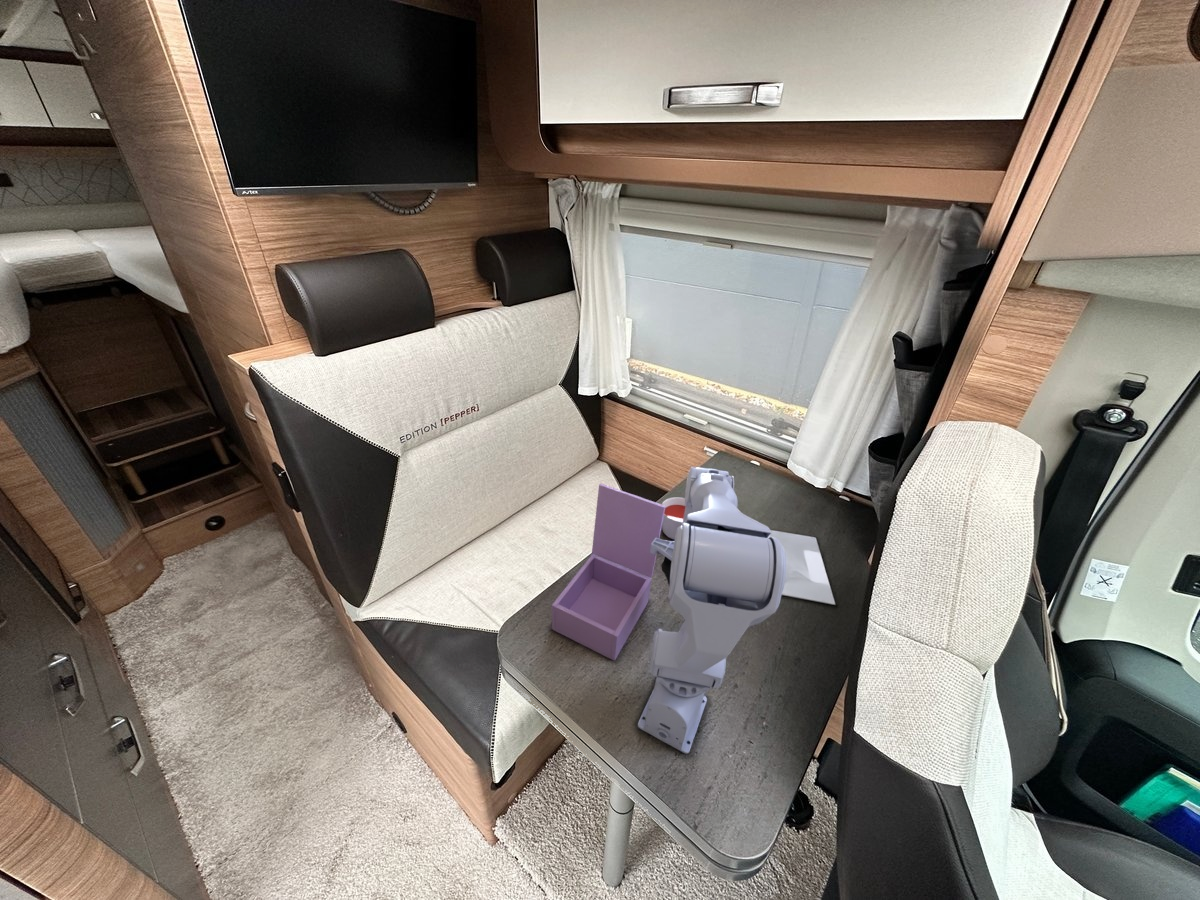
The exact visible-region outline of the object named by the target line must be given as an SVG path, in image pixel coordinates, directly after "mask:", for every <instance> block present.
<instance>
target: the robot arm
mask: <svg viewBox="0 0 1200 900" xmlns="http://www.w3.org/2000/svg"><path fill="white" fill-rule="evenodd" d="M684 498H685V504H686V507H685V513H684V518H683V523H682V525H681V526H679V527H678V528H677V531H676V535H675V540H666V539H661V538H660V539H658V538H655V539H654V540H653V542H652V543H651V548H650V553H652V554H660V555H662V556H664V559H663V561H662V563H661V571H662V572H663V574H664V575H665V578H666V581H667V584H668V594H667V598H668V599H669V606H670V607H671V608H672V609H673V610H674V611H676V613H678V614H679V615H680V616H682V617H683V618H684V622H683V623H682V625H681V626H680V628H679V630H678V631H668V630H663V628H657V630H655V631H654V633H653V639H652V644H651V645H652V646H651V653H650V661H649V672H650V673H651V676H652V677H655V683H654V687H653V689H652V691H651V694H650V696H649V698H648V700H647V703H646V705H645V707H644V708H643V711H642V713H641V716H640V718H639V720H638V722H637V728H638V729H640V730H642V731H643V732H645V733H647V734H649V735H651V736H652V737H654V738H656V739H658V740H660V741H661V742H663V743H664V744H667V745H669V746H670V747H672V748H674V749H676V750H678V751H680V752H681V753H683V754H686V755H687V754H689V753H690V750H691V748H692V745H693V742H694V739H695V736H696V733H697V731H698V727H699V725H700V722H701V719H702V716H703V713H704V710H705V707H706V705H707V701H708V697H706V695H705V694H706V693H707V694H709V692H710V690H711V689H712V690H717V689H718V688H719V687H720V686H721V685H722V683H723V680H724V677H725V675H726V665H727V658H728V657H729V655H730V654H731V653H732V651H734V649H735V647H736V646H737V645H738V643H739V641H740V640H741V638H742V637H743V635H744V634H745V632H746V631H747V629H748V628H749V627H752V626H755V625H758V624H761V623H763V622H764V621H766V620H767V619H768V618H769V617H771V616H772V615H774V614H775V613H776V612H777V611H778V609H779V607H780V603H781V599H782V596H783V595H782V592H783V589H784V584H785V578H786V554H785V549H784V547H783V546H782V544H781V543H780V541H779V539H778V538H775V537H770V538H768V536H769V535H770V534H771V531H770V530H771V529H770V527H769V526H768V525H766V524H764V523H761V522H759V521H757V520H755V519H754V518H752V517H750V516H748V515H746V514H744V513H743V512H742V511H740V510H739V508H738V504H739V502H738V501H739V500H738V496H737V494H736V491H735V476H734V475H730V472H729V471H728V470H727V471H726V470H719V469H716V468H706V467H698V466H690V468H689V470H688V472H687V478H686V484H685V489H684Z"/></svg>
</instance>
